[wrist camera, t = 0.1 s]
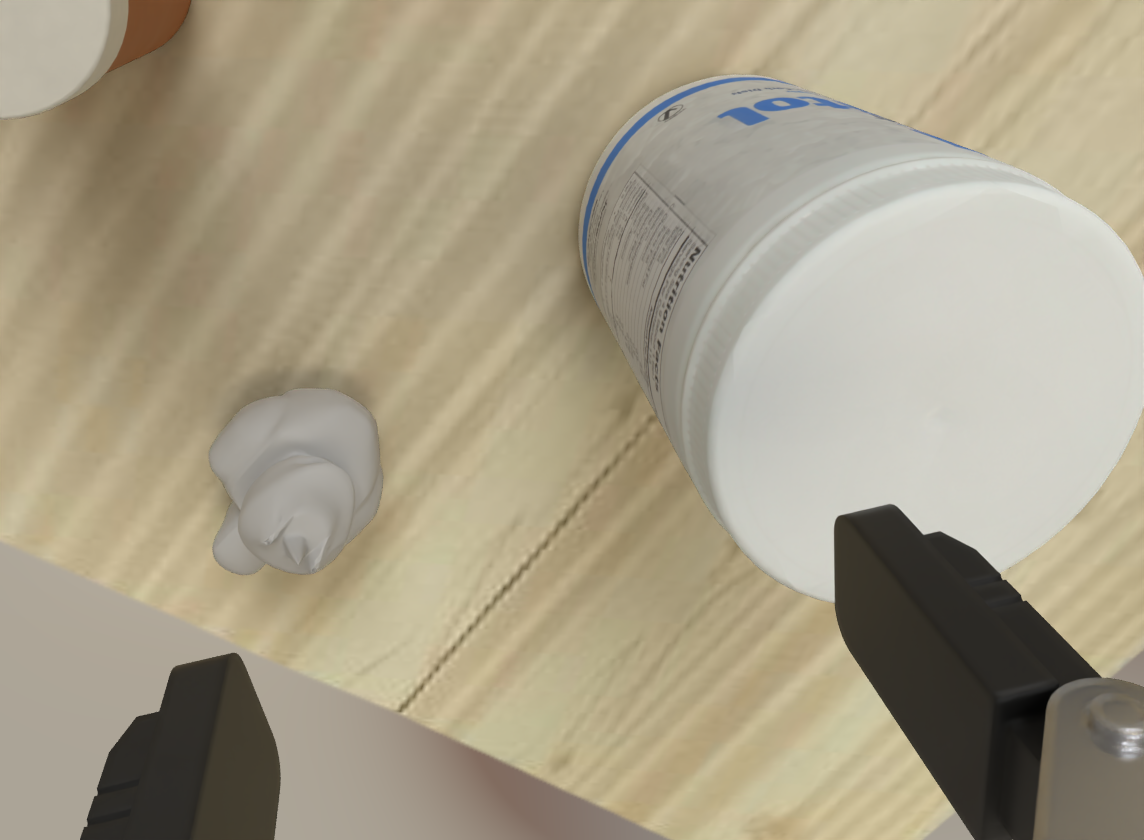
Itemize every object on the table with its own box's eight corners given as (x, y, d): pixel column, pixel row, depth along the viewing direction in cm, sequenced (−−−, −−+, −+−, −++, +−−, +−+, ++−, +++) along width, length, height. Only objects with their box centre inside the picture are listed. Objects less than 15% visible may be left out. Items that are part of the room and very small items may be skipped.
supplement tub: (871, 70, 30) (1248, 167, 17) (828, 348, 34) (1102, 596, 21) (570, 69, 28) (731, 177, 15) (564, 362, 32) (686, 640, 20)
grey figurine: (423, 425, 33) (436, 558, 26) (303, 552, 34) (283, 711, 27) (293, 329, 30) (267, 447, 23) (170, 470, 32) (110, 621, 25)
